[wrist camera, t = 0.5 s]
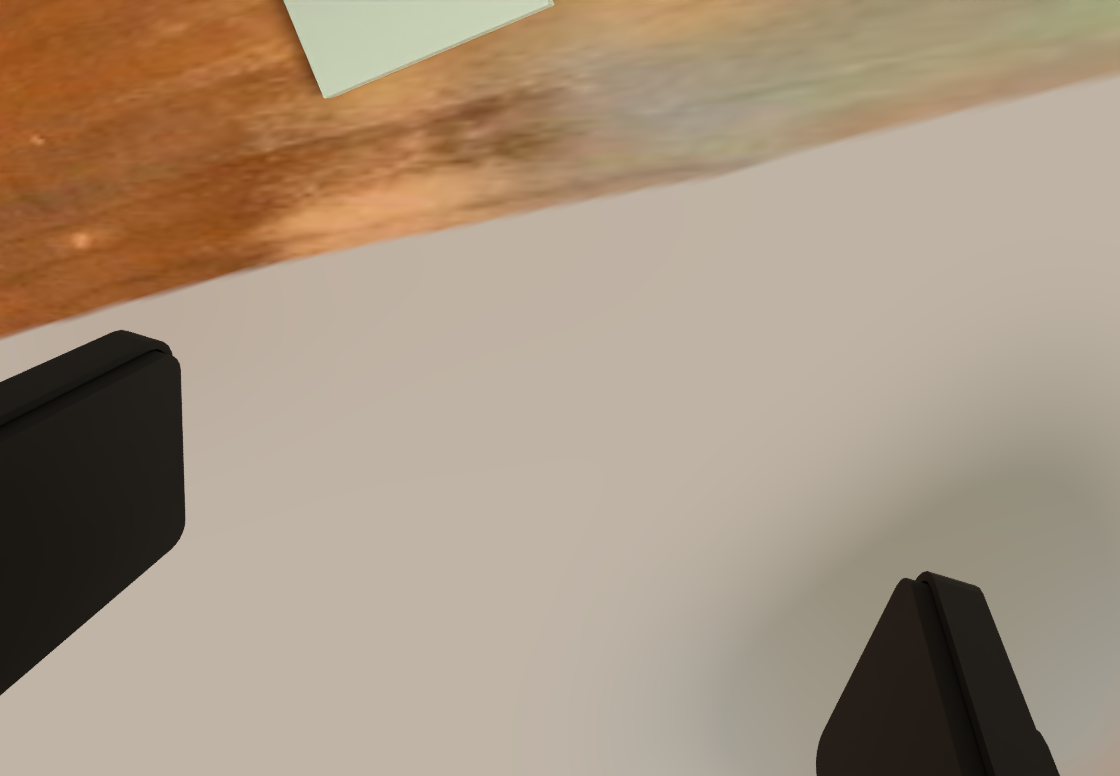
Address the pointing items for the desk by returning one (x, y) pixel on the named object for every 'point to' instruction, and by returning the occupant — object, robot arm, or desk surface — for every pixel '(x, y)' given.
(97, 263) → the desk surface
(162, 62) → the desk surface
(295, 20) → the mat
